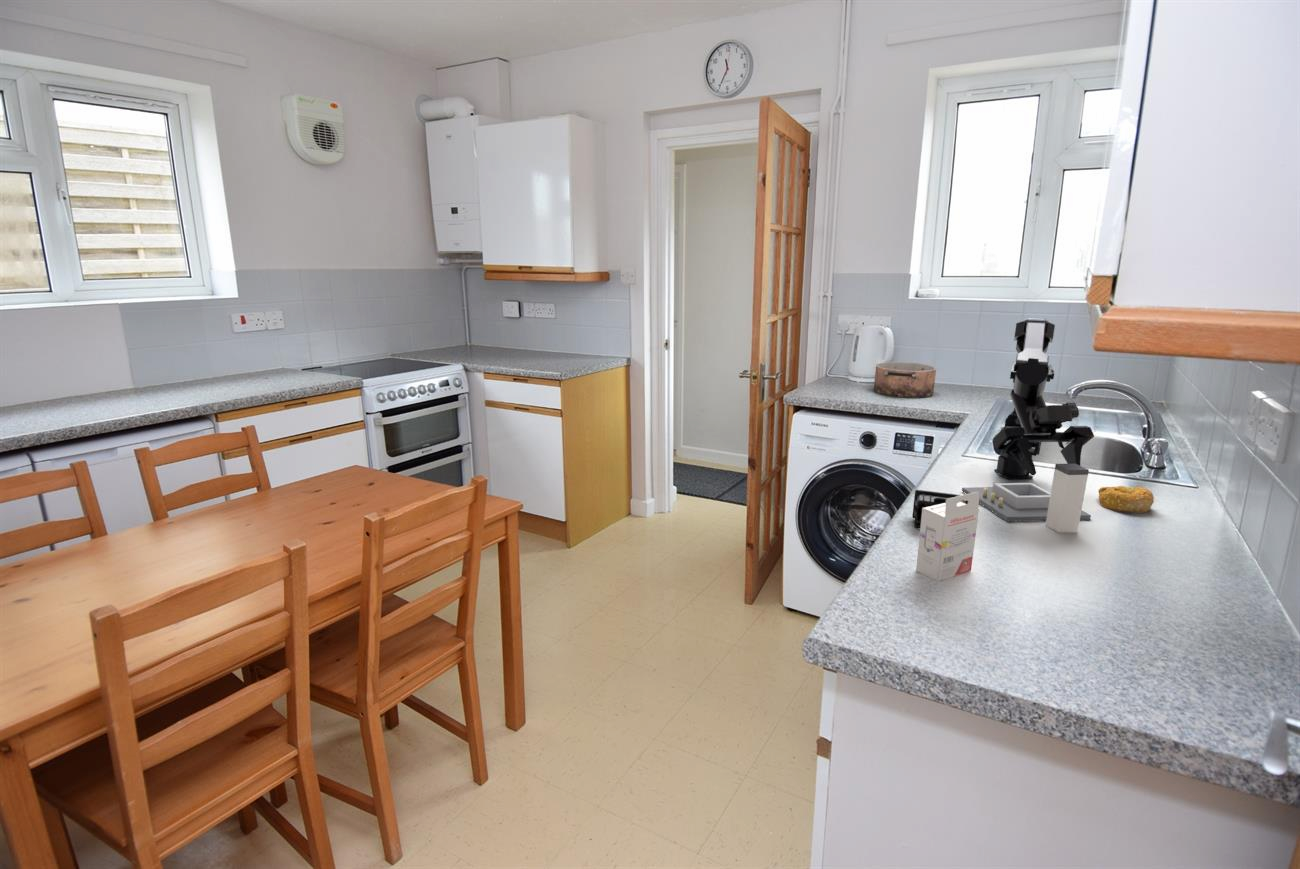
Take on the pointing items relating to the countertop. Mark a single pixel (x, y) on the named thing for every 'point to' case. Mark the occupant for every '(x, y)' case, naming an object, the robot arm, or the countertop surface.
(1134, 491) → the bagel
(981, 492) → the header dock
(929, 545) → the ink cartridge box
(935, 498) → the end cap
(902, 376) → the cooking pot
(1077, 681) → the countertop surface
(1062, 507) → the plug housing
